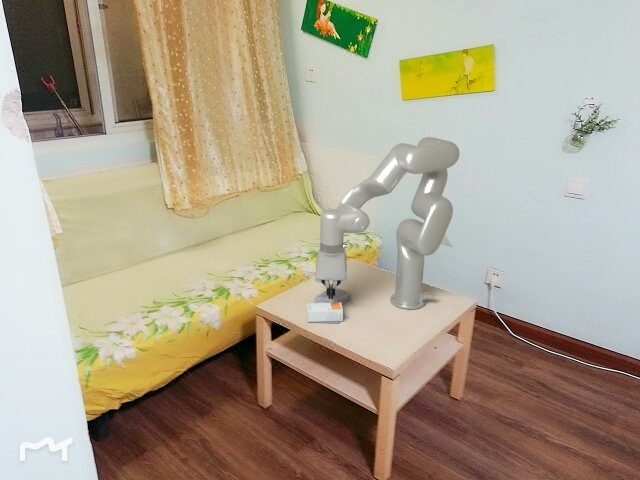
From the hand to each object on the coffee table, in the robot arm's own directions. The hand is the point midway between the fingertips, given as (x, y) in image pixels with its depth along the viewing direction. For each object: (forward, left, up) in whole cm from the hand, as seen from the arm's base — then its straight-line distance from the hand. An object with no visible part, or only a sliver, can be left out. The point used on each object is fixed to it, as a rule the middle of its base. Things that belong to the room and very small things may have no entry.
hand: (330, 297), depth 158 cm
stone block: (0, -12, -8) cm, 14 cm away
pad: (+1, 0, -8) cm, 8 cm away
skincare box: (-4, 0, -5) cm, 7 cm away
